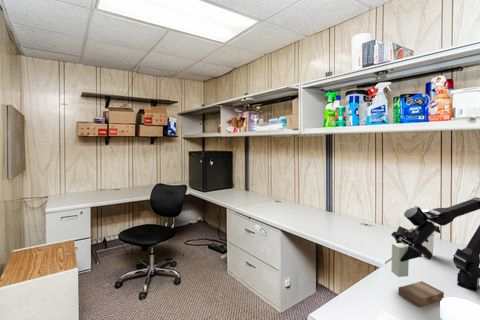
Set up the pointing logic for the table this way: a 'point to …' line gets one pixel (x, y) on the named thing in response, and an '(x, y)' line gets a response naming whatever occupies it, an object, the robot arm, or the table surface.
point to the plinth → (420, 293)
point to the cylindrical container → (429, 240)
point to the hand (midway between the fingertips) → (397, 258)
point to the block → (398, 266)
